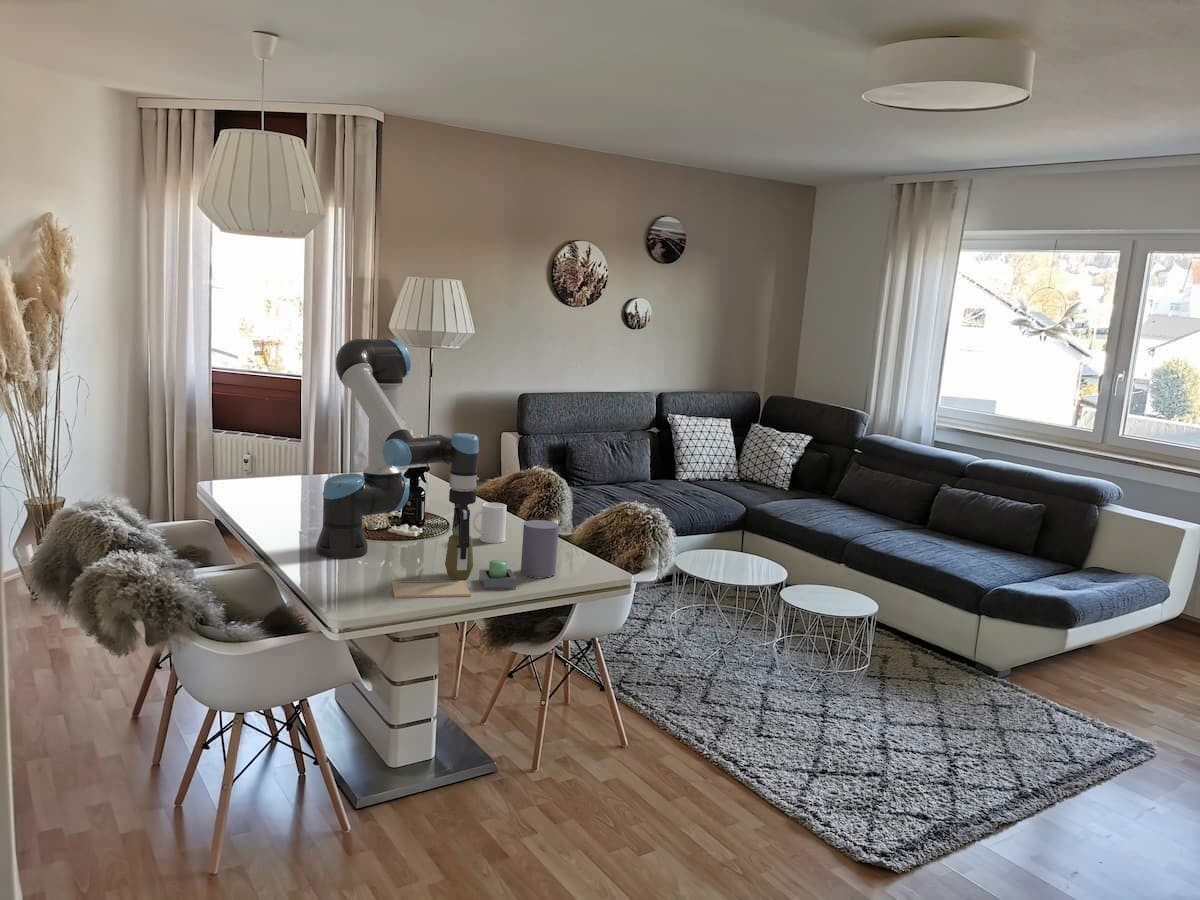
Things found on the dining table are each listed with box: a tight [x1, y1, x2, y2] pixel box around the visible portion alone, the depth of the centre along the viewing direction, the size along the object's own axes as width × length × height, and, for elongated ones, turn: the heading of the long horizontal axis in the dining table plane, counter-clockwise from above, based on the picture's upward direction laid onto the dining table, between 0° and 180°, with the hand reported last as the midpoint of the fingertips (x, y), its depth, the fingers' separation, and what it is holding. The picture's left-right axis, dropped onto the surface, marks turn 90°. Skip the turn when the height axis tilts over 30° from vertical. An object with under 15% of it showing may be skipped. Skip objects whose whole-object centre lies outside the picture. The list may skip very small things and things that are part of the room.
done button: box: [488, 559, 508, 578], centre depth 256 cm, size 5×5×5 cm
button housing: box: [478, 568, 517, 591], centre depth 257 cm, size 9×9×3 cm
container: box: [520, 519, 560, 578], centre depth 269 cm, size 10×10×15 cm
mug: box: [472, 502, 508, 544], centre depth 302 cm, size 12×8×12 cm
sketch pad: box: [391, 580, 471, 599], centre depth 248 cm, size 20×12×1 cm, turn 106°
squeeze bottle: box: [444, 525, 474, 581], centre depth 259 cm, size 8×8×18 cm
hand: (459, 563), depth 260 cm, fingers open, 11 cm apart
